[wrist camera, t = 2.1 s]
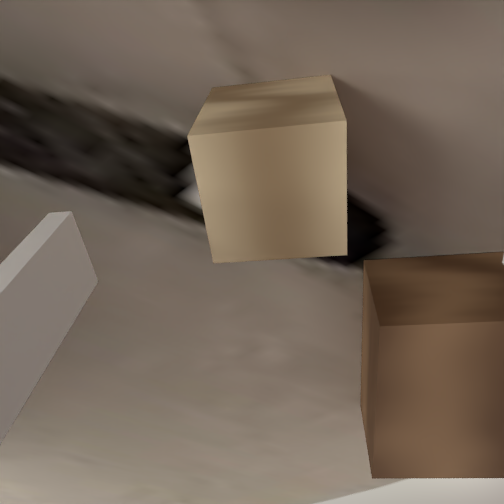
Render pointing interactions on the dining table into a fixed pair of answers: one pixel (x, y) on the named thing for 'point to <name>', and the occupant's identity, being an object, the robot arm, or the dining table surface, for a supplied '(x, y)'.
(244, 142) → the oak block
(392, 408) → the walnut pedestal
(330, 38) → the dining table surface
